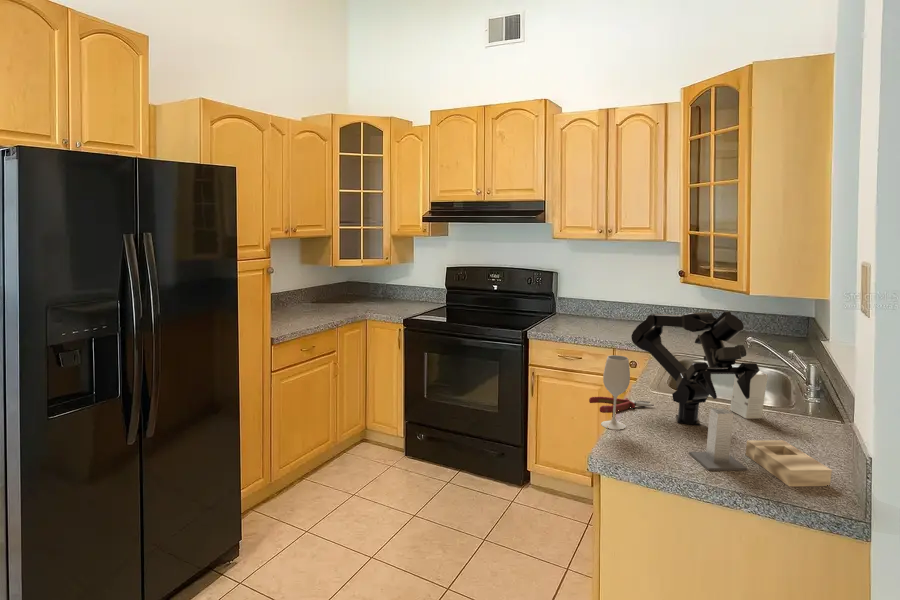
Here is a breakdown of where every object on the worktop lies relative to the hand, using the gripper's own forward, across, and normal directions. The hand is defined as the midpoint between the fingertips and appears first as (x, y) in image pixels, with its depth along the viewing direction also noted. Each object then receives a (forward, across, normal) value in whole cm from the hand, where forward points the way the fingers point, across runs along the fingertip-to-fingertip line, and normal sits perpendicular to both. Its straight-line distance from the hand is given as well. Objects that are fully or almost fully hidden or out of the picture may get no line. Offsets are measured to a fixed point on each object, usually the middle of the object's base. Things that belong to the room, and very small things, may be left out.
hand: (731, 398), depth 156 cm
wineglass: (-1, -27, +21) cm, 34 cm away
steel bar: (+16, -9, +2) cm, 19 cm away
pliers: (-12, -18, +32) cm, 39 cm away
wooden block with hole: (+20, +6, -1) cm, 21 cm away
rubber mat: (+17, -9, +2) cm, 19 cm away
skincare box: (-8, +20, +27) cm, 35 cm away
